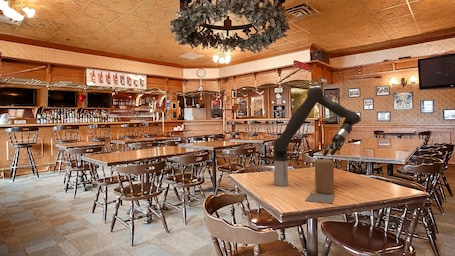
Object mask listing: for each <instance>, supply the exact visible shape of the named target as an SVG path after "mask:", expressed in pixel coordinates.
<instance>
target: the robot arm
mask: <svg viewBox="0 0 455 256" xmlns="http://www.w3.org/2000/svg"><path fill="white" fill-rule="evenodd" d="M306 95H307V97H306V98H305V100H304V101H303V102H302V104H301V105H299V107H298V108H297V109H296V110H295V111H294V112H293V114H292V116H291V117H290V119H289V120H288V122H287V123H286V127H285V129H284V130H283V132H282V133H281V134H280V136H279V137H277V138H276V139H275V140H274V142H273V157H274V159H273V160H274V162H273V163H274V170H273V185H274V186H276V187H278V186H279V187H286V186H289V164H288V163H289V162H288V159H289V157H288V146H289V145H290V142H291V140H292V139H293V138H294V136H295V135H296V134H297V132H298V131H299V130H300V129H301V127H302V126H303V125H304V124H305V122H306V121H307V118H308V116H310V114H311V112H312V110H313V108H314V107H315V106H316V105H317V104H319V105H321V106H323V107H324V108H326V109H327V110H329V111H330V112H331V113H333V114H334V115H335V116H337V117H338V118H340V119H344V120H343V122H342V124H341V126H340V127H339V129H338V130H337V131H336V132H335V134H334V135H333V136H332V138H331V141H332V142H331V143H328V144H327V145H326V146H325V147H324V148H323V150H324V152H323V153H322V156H323V157H327V156H328V154H329V153H330V155H331V156H334V155H335V154H336V152H338V151H340V150H341V149H342V147H343V145H344V144H345V142H346V140H347V138H348V137H349V135H350V134H351V133H352V130H353V126H354V125H356V124H359V123H360V121H361V116H360V115H359V114H358V113H357V112H356V111H352V110H349V109H347V108H345V107H344V106H343V105H341V104H340V103H338V102H336V101H335V100H332V99H330V98H328V97H327V96H325V95H324V91H323V89H322V88H321V87H319V86H313V87H310V88H309V89H308V90H307V92H306Z"/></svg>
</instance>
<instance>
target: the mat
mask: <svg viewBox="0 0 455 256" xmlns="http://www.w3.org/2000/svg"><path fill="white" fill-rule="evenodd" d="M335 197H336V195H334V194H318V193H317V192H316V193H314V192H310V194H308V196H307V197H306V199H305V200H304V201H305V202H310V203H318V204H319V203H320V204H329V205H333V203H334V200H335Z"/></svg>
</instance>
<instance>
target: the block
mask: <svg viewBox="0 0 455 256" xmlns="http://www.w3.org/2000/svg"><path fill="white" fill-rule="evenodd" d="M334 168H335V165H334V161H333V160H331V159H330V158H327V159H326V158H325V159H324V158H317V159H315V160H314V185H315V186H314V187H315V189H314V190H315V191H316V194H326V195H334V194H335V173H334V171H335V170H334Z"/></svg>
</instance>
